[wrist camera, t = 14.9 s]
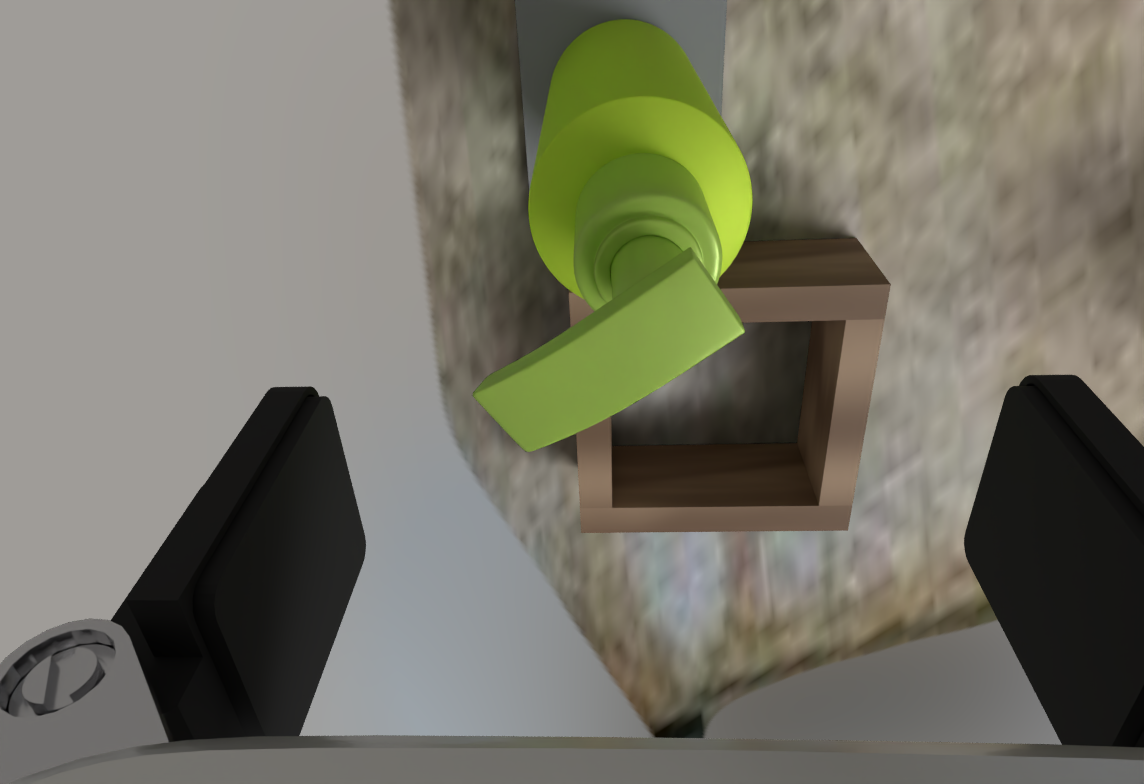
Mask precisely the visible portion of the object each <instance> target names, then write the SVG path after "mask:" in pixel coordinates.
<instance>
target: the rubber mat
mask: <svg viewBox="0 0 1144 784" xmlns="http://www.w3.org/2000/svg"><path fill="white" fill-rule="evenodd" d="M515 9H516V22H517V36H518V49H519V62H520V75H521V88H522V102H523V115H524V128H525V141H526V154H527V168H528V181H529V191H530V185H531V180H532V175H533V170H534V165H535V160H536V155H537V150H538V145H539V140H540V135H541V129H542V124H543V119H544V114H545V109H546V104H547V99H548V94H549V89H550V84H551V79H552V75H553V72H554V69H555V67H556V65H557V63H558V61H559V59H560V57H561V55H562V54H563V52H564V51H565V50H566V48H567V47H568V46H569V45H570V44H571V43H572V42H573V41H574V40H575V39H576V38H577V37H578V36H579V35H581V34H582V33H583V32H585V31H586V30H588V29H590V28H592V27H594V26H596V25H598V24H601V23H604V22H608V21H612V20H620V19H630V20H638V21H642V22H646V23H649V24H651V25H654V26H656V27H658V28H660V29H661V30H663V31H664V32H666V33H667V34H669V35H670V36H671V37H672V38H673V39H674V40H675V41H676V42H677V43H678V44H679V45H680V47H681V48H682V49H683V51H684V52H685V54H686V55H687V57H688V59H689V61H690V62H691V64H692V66H693V68H694V70H695V71H696V73H697V75H698V77H699V78H700V80H701V82H702V84H703V85H704V87H705V89H706V91H707V93H708V94H709V96H710V98H711V100H712V101H713V103H714V105H715V107H716V108H717V110H718V112H719V114H720V116H721V111H722V91H723V70H724V50H725V30H726V9H727V0H515Z"/></svg>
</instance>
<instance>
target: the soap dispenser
mask: <svg viewBox="0 0 1144 784" xmlns="http://www.w3.org/2000/svg"><path fill="white" fill-rule="evenodd" d="M751 213H752V185H751V179H750V175H749V171H748V168H747V165H746V162H745V159H744V157H743V155H742V153H741V151H740V149H739V147H738V146H737V144H736V142H735V140H734V138H733V137H732V135H731V133H730V131H729V130H728V128H727V126H726V124H725V123H724V121H723V119H722V117H721V116H720V114H719V112H718V110H717V108H716V107H715V105H714V103H713V101H712V100H711V98H710V96H709V94H708V93H707V91H706V89H705V87H704V85H703V84H702V82H701V80H700V78H699V77H698V75H697V73H696V71H695V70H694V68H693V66H692V64H691V62H690V61H689V59H688V57H687V55H686V54H685V52H684V51H683V49H682V48H681V47H680V45H679V44H678V43H677V42H676V41H675V40H674V39H673V38H672V37H671V36H670V35H669V34H667V33H666V32H664V31H663V30H661V29H660V28H658V27H656V26H654V25H651V24H649V23H646V22H642V21H638V20H630V19H620V20H612V21H608V22H604V23H601V24H598V25H596V26H594V27H592V28H590V29H588V30H586V31H585V32H583V33H582V34H581V35H579V36H578V37H577V38H576V39H575V40H574V41H573V42H572V43H571V44H570V45H569V46H568V47H567V48H566V50H565V51H564V52H563V54H562V55H561V57H560V59H559V61H558V63H557V65H556V67H555V69H554V72H553V75H552V79H551V84H550V89H549V94H548V99H547V104H546V109H545V114H544V119H543V124H542V129H541V135H540V140H539V145H538V150H537V155H536V160H535V165H534V170H533V175H532V180H531V185H530V191H529V200H528V215H529V224H530V229H531V234H532V237H533V240H534V243H535V246H536V248H537V251H538V253H539V255H540V257H541V258H542V260H543V262H544V263H545V265H546V266H547V268H548V269H549V270H550V272H551V273H552V274H553V275H554V276H555V278H556V279H557V280H558V281H559V282H560V283H561V284H563V285H564V286H565V287H566V288H567V289H569V290H570V291H571V292H573V293H574V294H576V295H577V296H579V297H581V298H582V299H584V300H585V301H586V302H587V304H588V305H589V306H590V307H591V308H592V309H593V310H594V312H593V313H592V314H590V315H589V316H587V317H586V318H584V319H583V320H581V321H580V322H578V323H577V324H575V325H574V326H572V327H571V328H569V329H568V330H566V331H565V332H563V333H561V334H560V335H558V336H557V337H555V338H554V339H552V340H550V341H549V342H547V343H546V344H544V345H542V346H541V347H539V348H537V349H536V350H534V351H532V352H531V353H529V354H527V355H526V356H524V357H522V358H520V359H519V360H517V361H515V362H513V363H511V364H509V365H507V366H505V367H503V368H501V369H500V370H498V371H496V372H494V373H492V374H490V375H489V376H487V377H486V378H485V380H484V381H483V382H482V383H481V384H480V385H479V387H478V388H477V389H476V390H475V391H474V392H473V397H474V398H475V399H476V400H477V401H478V402H479V404H480V405H481V406H482V407H483V408H484V409H485V410H486V411H487V412H488V413H489V414H490V415H491V416H492V417H493V419H494V420H495V421H496V422H497V423H498V424H499V425H500V426H501V427H502V428H503V429H504V430H505V431H506V432H507V433H508V434H509V435H510V436H511V437H512V439H513V440H514V441H515V442H516V443H517V444H518V445H519V446H520V447H521V448H522V449H523V450H524V451H526V452H531V451H534V450H537V449H540V448H542V447H545V446H548V445H550V444H552V443H555V442H557V441H560V440H562V439H565V438H567V437H569V436H571V435H574V434H576V433H578V432H580V431H582V430H585V429H587V428H589V427H591V426H593V425H595V424H597V423H599V422H601V421H603V420H605V419H607V418H608V417H610V416H612V415H614V414H616V413H618V412H619V411H621V410H623V409H625V408H627V407H628V406H630V405H632V404H634V403H635V402H637V401H639V400H640V399H642V398H644V397H645V396H647V395H649V394H650V393H652V392H653V391H655V390H657V389H658V388H660V387H662V386H663V385H665V384H666V383H668V382H670V381H671V380H673V379H674V378H676V377H677V376H679V375H681V374H682V373H684V372H685V371H687V370H688V369H690V368H691V367H693V366H694V365H696V364H698V363H699V362H701V361H702V360H704V359H705V358H707V357H708V356H710V355H711V354H713V353H714V352H716V351H717V350H719V349H721V348H722V347H724V346H725V345H727V344H728V343H730V342H731V341H733V340H734V339H736V338H737V337H739V336H740V335H742V334H743V333H744V332H745V330H744V327H743V324H742V321H741V319H740V317H739V315H738V314H737V313H736V311H735V310H734V308H733V307H732V305H731V304H730V303H729V301H728V300H727V298H726V297H725V295H724V294H723V292H722V291H721V290H720V288H719V287H718V285H717V283H718V281H719V277H720V276H721V275H722V274H723V273H724V272H725V271H726V270H727V268H728V267H729V266H730V265H731V263H732V262H733V260H734V259H735V257H736V256H737V254H738V252H739V250H740V248H741V246H742V244H743V242H744V240H745V237H746V234H747V231H748V228H749V224H750V219H751Z"/></svg>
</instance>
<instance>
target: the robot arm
mask: <svg viewBox="0 0 1144 784" xmlns="http://www.w3.org/2000/svg"><path fill="white" fill-rule="evenodd" d="M964 547H965V553H966V557H967V560H968V562H969V564H970V566H971V568H972V570H973V572H974V574H975V576H976V578H977V580H978V582H979V584H980V586H981V588H982V590H983V592H984V594H985V595H986V597H987V599H988V601H989V603H990V605H991V607H992V609H993V611H994V613H995V615H996V617H997V619H998V621H999V623H1000V624H1001V627H1002V628H1003V631H1004V632H1005V634H1006V636H1007V638H1008V640H1009V642H1010V644H1011V646H1012V648H1013V650H1014V652H1015V654H1016V656H1017V658H1018V660H1019V662H1020V663H1021V665H1022V668H1023V669H1024V671H1025V673H1026V675H1027V677H1028V679H1029V681H1030V683H1031V685H1032V687H1033V689H1034V691H1035V692H1036V694H1037V697H1038V699H1039V700H1040V702H1041V704H1042V706H1043V708H1044V710H1045V712H1046V714H1047V716H1048V718H1049V720H1050V722H1051V724H1052V726H1053V728H1054V730H1055V732H1056V734H1057V736H1058V738H1059V740H1060V741H1061V743H1062V745H1050V744H1003V743H1001V744H1000V743H950V742H949V743H948V742H893V741H842V740H839V741H838V740H774V739H703V738H622V737H619V738H618V737H517V736H516V737H515V736H386V735H385V736H383V735H373V736H299V735H300V733H301V730H302V727H303V724H304V722H305V719H306V716H307V713H308V711H309V708H310V705H311V703H312V700H313V697H314V695H315V692H316V689H317V686H318V684H319V681H320V678H321V676H322V673H323V670H324V667H325V665H326V662H327V659H328V657H329V654H330V651H331V648H332V646H333V643H334V640H335V638H336V635H337V632H338V630H339V627H340V624H341V621H342V619H343V616H344V613H345V611H346V608H347V605H348V602H349V600H350V597H351V594H352V592H353V588H354V586H355V583H356V581H357V578H358V575H359V573H360V570H361V567H362V564H363V561H364V557H365V549H366V540H365V535H364V530H363V526H362V522H361V518H360V515H359V510H358V506H357V503H356V499H355V495H354V491H353V487H352V483H351V479H350V475H349V471H348V467H347V463H346V459H345V455H344V451H343V447H342V443H341V439H340V435H339V431H338V427H337V423H336V419H335V416H334V411H333V407H332V404H331V401H330V400H329V398H328V397H326V396H322V397H319V395H318V392H317V391H316V390H315V389H314V388H313V387H274V388H271V389H270V390H268V392H267V393H266V394H265V396H264V397H263V399H262V400H261V402H260V403H259V405H258V406H257V408H256V409H255V411H254V412H253V414H252V415H251V416H250V418H249V419H248V421H247V422H246V424H245V425H244V427H243V428H242V430H241V431H240V433H239V434H238V436H237V437H236V439H235V440H234V442H233V443H232V445H231V446H230V447H229V449H228V450H227V452H226V453H225V455H224V456H223V458H222V459H221V461H220V462H219V464H218V465H217V467H216V468H215V470H214V471H213V472H212V474H211V475H210V477H209V479H208V480H207V481H206V483H205V484H204V485H203V486H202V487H201V489H200V490H199V491H198V493H197V494H196V496H195V497H194V499H193V500H192V502H191V503H190V505H189V506H188V508H187V509H186V511H185V512H184V513H183V515H182V517H181V518H180V519H179V521H178V522H177V524H176V525H175V527H174V528H173V530H172V531H171V533H170V534H169V535H168V537H167V539H166V540H165V541H164V543H163V544H162V546H161V547H160V549H159V550H158V552H157V553H156V555H155V556H154V558H153V559H152V561H151V562H150V564H149V565H148V566H147V568H146V569H145V571H144V572H143V574H142V575H141V577H140V578H139V580H138V581H137V583H136V584H135V586H134V587H133V588H132V590H131V592H130V593H129V594H128V596H127V597H126V599H125V600H124V602H123V603H122V605H121V606H120V608H119V609H118V610H117V612H116V613H115V615H114V616H113V618H112V619H111V621H109V620H102V619H101V620H100V619H85V620H79V621H73V622H68V623H65V624H63V625H60V626H57V627H55V628H52V629H49V630H46V631H45V632H43V633H41V634H39V635H37V636H36V637H34V638H32V639H30V640H28V641H26V642H25V643H24V644H22V645H21V646H20V647H19V648H17V649H16V650H15V651H13V652H12V653H11V654H10V655H8V656H7V657H6V658H5V659H4V660H3V661H2V662H1V664H0V784H1144V447H1143V445H1142V444H1141V443H1140V442H1139V441H1138V440H1137V439H1136V438H1135V437H1134V436H1133V435H1132V434H1131V432H1130V431H1129V430H1128V429H1127V428H1126V427H1125V426H1124V425H1123V424H1122V423H1121V422H1120V421H1119V420H1118V418H1117V417H1116V416H1115V415H1114V414H1113V413H1112V412H1111V411H1110V410H1109V409H1108V408H1107V407H1106V405H1105V404H1104V403H1103V402H1102V401H1101V400H1100V399H1099V398H1098V397H1097V396H1096V395H1095V394H1094V393H1093V391H1092V390H1091V389H1090V388H1089V387H1088V386H1087V385H1086V384H1085V383H1084V382H1083V381H1082V380H1081V379H1080V378H1079V377H1077V376H1076V375H1029V376H1027V377H1025V378H1024V379H1023V380H1022V381H1021V383H1020V385H1019V386H1013V387H1011V388H1010V389H1009V390H1008V391H1007V393H1006V396H1005V399H1004V402H1003V406H1002V409H1001V412H1000V416H999V419H998V423H997V426H996V430H995V433H994V436H993V440H992V443H991V447H990V450H989V453H988V457H987V460H986V464H985V467H984V471H983V474H982V477H981V481H980V484H979V488H978V491H977V494H976V498H975V501H974V505H973V508H972V512H971V515H970V518H969V522H968V525H967V529H966V532H965V537H964Z"/></svg>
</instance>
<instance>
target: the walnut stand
mask: <svg viewBox="0 0 1144 784" xmlns="http://www.w3.org/2000/svg"><path fill="white" fill-rule="evenodd" d="M717 285H718V287H719V288H720V290H721V291H722V292H723V294H724V295H725V297H726V298H727V300H728V301H729V303H730V304H731V305H732V307H733V308H734V310H735V311H736V313H737V314H738V315H739V317H740V319H741V321H742V323H747V322H789V321H812V325H811V333H810V342H809V350H808V358H807V366H806V374H805V383H804V391H803V399H802V407H801V415H800V424H799V432H798V440H797V443H775V444H710V445H644V446H612V430H611V416H610V417H608V418H607V419H605V420H603V421H601V422H599V423H597V424H595V425H593V426H591V427H589V428H587V429H585V430H582V431H580V432H578V433H576V439H577V458H578V477H579V496H580V515H581V533H612V532H723V531H834V530H848V526H849V520H850V515H851V509H852V503H853V497H854V492H855V486H856V480H857V474H858V469H859V463H860V457H861V452H862V446H863V440H864V434H865V429H866V423H867V417H868V411H869V406H870V400H871V394H872V388H873V383H874V377H875V371H876V366H877V360H878V354H879V348H880V343H881V337H882V331H883V325H884V320H885V314H886V308H887V302H888V297H889V291H890V285H891V284H890V283H889V281H888V280H887V279H886V277H885V276H884V275H883V273H882V272H881V271H880V269H879V268H878V267H877V265H876V264H875V262H874V261H873V260H872V258H871V257H870V256H869V254H868V253H867V252H866V250H865V249H864V248H863V246H862V245H861V243H860V242H859V241H858V239H857V238H845V239H811V240H778V241H744V242H743V244H742V246H741V248H740V250H739V252H738V254H737V256H736V257H735V259H734V260H733V262H732V263H731V265H730V266H729V267H728V268H727V270H726V271H725V272H724V273H723V274H722V275H721V276H720V277H719V281H718V283H717ZM569 308H570V327H572V326H574V325H575V324H577V323H578V322H580V321H581V320H583V319H584V318H586V317H587V316H589V315H590V314H592V313H593V312H594V310H593V309H592V308H591V307H590V306H589V305H588V304H587V302H586V301H585V300H584V299H582V298H581V297H579V296H577V295H576V294H574V293H573V292H571V291H570V290H569Z"/></svg>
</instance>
